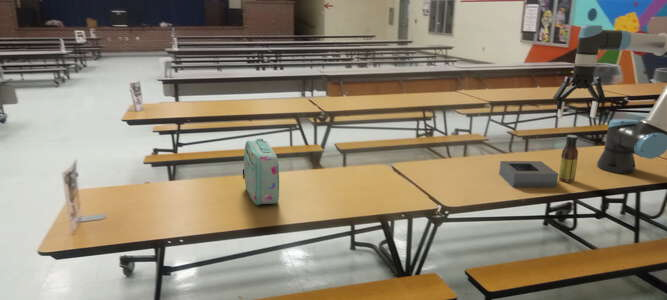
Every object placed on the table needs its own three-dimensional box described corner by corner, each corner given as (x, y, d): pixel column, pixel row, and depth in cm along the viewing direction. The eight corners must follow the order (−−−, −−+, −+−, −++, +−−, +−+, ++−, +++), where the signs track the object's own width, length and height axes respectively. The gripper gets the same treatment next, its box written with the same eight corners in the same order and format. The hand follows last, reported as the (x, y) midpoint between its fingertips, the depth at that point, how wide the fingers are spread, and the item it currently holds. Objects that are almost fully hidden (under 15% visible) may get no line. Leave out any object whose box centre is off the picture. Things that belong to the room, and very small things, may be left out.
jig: (539, 174, 208) (541, 161, 206) (556, 187, 193) (558, 173, 191) (499, 173, 208) (500, 161, 206) (512, 187, 192) (514, 173, 191)
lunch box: (241, 185, 192) (239, 135, 186) (266, 182, 196) (264, 132, 189) (254, 211, 168) (252, 154, 162) (282, 207, 172) (281, 151, 165)
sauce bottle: (571, 178, 203) (578, 134, 197) (576, 183, 197) (584, 138, 191) (555, 177, 204) (562, 133, 198) (560, 182, 198) (568, 137, 192)
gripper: (610, 64, 190) (600, 115, 196) (549, 63, 189) (541, 114, 196) (621, 66, 183) (611, 119, 189) (558, 65, 182) (550, 119, 188)
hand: (576, 117), depth 192 cm, fingers open, 13 cm apart
